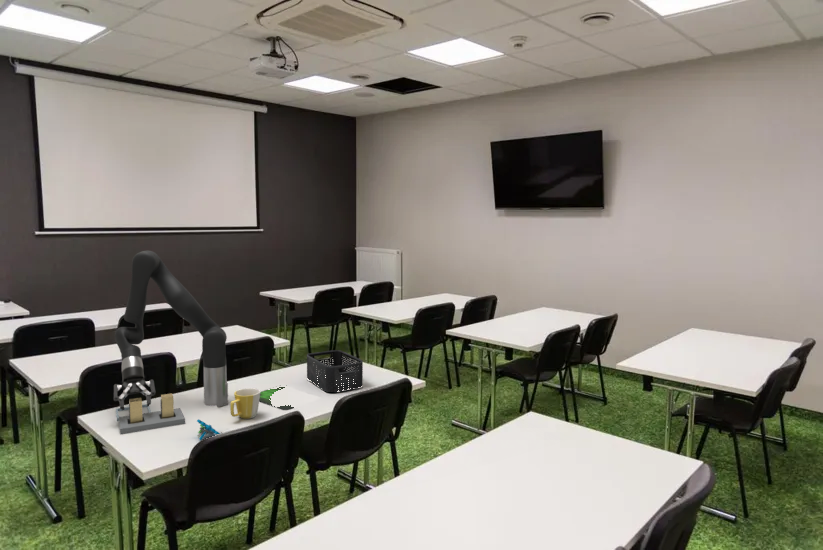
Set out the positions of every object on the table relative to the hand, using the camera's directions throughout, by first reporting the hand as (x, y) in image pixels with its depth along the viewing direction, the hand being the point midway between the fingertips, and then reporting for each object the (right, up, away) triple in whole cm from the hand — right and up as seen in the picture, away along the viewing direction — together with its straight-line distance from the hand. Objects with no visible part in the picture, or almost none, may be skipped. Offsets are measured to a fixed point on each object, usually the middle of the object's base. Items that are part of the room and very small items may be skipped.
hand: (135, 407), depth 201 cm
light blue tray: (-7, -7, +12) cm, 16 cm away
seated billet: (+9, -7, +6) cm, 13 cm away
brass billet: (0, -7, +1) cm, 7 cm away
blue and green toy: (+30, -10, -6) cm, 32 cm away
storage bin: (+67, -4, +61) cm, 90 cm away
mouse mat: (+47, -6, +39) cm, 61 cm away
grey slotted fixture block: (+4, -8, +3) cm, 10 cm away
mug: (+37, -8, +14) cm, 40 cm away
